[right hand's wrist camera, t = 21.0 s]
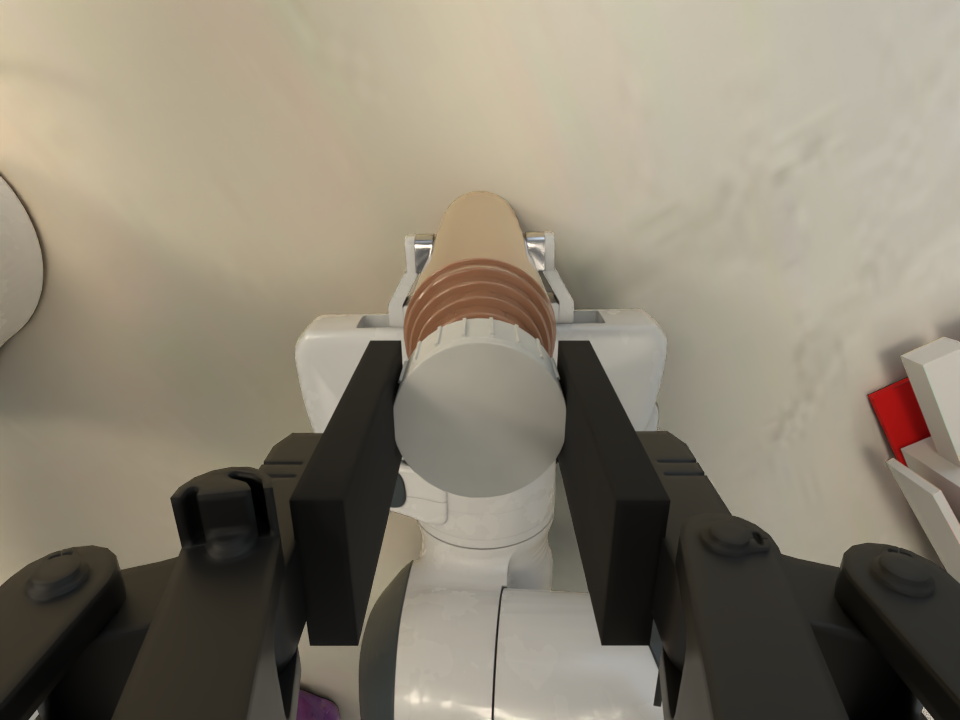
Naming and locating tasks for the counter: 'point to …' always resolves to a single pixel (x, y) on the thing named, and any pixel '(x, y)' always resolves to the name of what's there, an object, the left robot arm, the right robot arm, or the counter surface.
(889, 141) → the counter surface
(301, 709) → the figurine
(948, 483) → the toy
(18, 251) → the left robot arm
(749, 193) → the counter surface
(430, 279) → the bottle
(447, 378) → the cap
